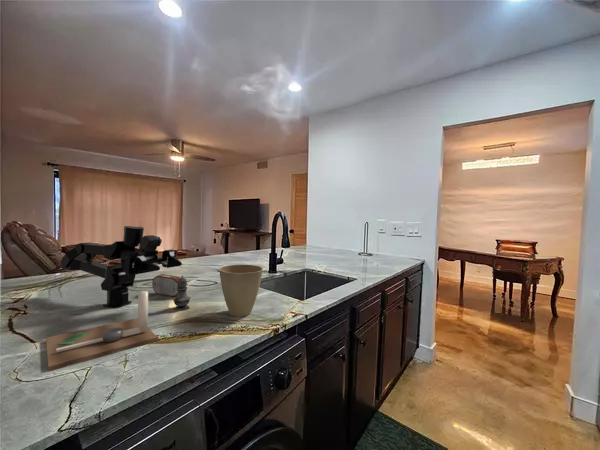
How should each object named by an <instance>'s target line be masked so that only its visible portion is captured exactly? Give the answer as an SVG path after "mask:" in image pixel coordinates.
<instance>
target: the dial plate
mask: <svg viewBox="0 0 600 450" xmlns="http://www.w3.org/2000/svg"><path fill="white" fill-rule="evenodd" d="M115 327H120V328H123V331H124V330H129V329H133V328H137V327H138V317H136V318H132V319H127V320H121V321H117V322H113V323H108V324H104V325H100V326H94V327H90V328H86V329H80V330H77V331H76V330H75V331H71V332H66V333H61V334H57V335H53V336H48V337H46V338H45V345H46V346H45V347H46V358H47V370H48V372H50V371H54V370H57V369H61V368H65V367H68V366H72V365H75V364H79V363H83V362H87V361H89V360H90V361H91V360H93V359H98V358H101V357H104V356H109V355H113V354H115V353H118V352H123V351H126V350H130V349H133V348H136V347H140V346H144V345H148V344H151V343H154V342H157V341H158V336H157V335H156V334H155V333H154V332H153V331H152V330H151V328H150V327H148V331H146V332H143V333H138V334H134V335H130V336H126V337H122V338H121V339H120V340H117V341H114V342H103V341H100V342H96V343H92V344H88V345H84V346H80V347H76V348H72V349H68V350H64V351H60V352H56V349H57V348H61V347H65V346H70V345H74V344H78V343H82V342H86V341H91V340H95V339H99V338H102V333H103V331H104V330H107V329H110V328H115Z"/></svg>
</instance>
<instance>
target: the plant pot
mask: <svg viewBox="0 0 600 450" xmlns="http://www.w3.org/2000/svg"><path fill="white" fill-rule="evenodd" d="M263 270H264V269H263V267H262V266H259V265H254V264H243V263H242V264H241V263H239V264H230V265H228V264H227V265H225V266H224V265H223V266H221V267H220V268H219V277H220V285H221V290H222V293H223V298H224V302H225V304H226V308H227V310H228V313H229V314H230V316H231V317H238V318H239V317H246V316H248V315H251V314H252V310H253V308H254V306H255V303H256V300H257V297H258V293H259V291H260V290H259V289H260V286H261V282H262V276H263Z"/></svg>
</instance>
